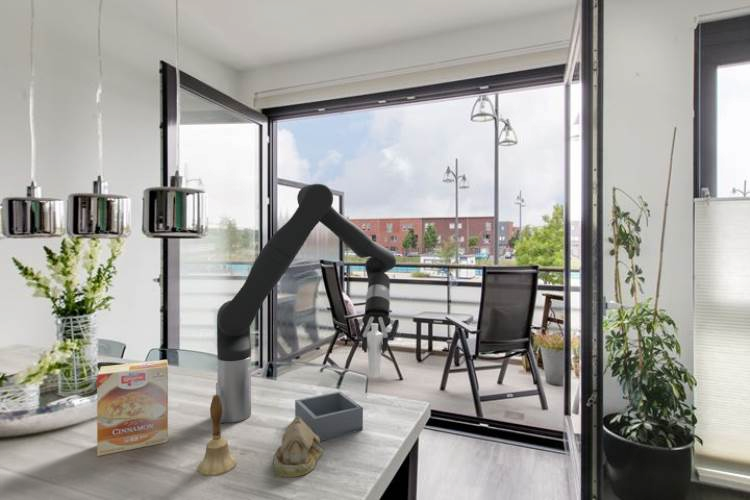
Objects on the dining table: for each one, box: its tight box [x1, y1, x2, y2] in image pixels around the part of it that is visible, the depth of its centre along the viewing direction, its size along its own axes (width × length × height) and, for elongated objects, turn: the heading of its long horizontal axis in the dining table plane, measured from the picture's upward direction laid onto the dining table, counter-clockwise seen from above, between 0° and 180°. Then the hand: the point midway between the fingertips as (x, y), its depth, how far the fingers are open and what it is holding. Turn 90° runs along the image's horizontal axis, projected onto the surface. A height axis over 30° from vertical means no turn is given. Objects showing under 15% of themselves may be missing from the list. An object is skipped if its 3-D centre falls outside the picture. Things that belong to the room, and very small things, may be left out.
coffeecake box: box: [96, 359, 169, 457], centre depth 102 cm, size 15×7×20 cm, turn 117°
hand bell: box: [197, 394, 238, 477], centre depth 93 cm, size 8×8×16 cm
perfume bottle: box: [367, 323, 383, 379], centre depth 118 cm, size 5×4×15 cm
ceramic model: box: [273, 416, 323, 478], centre depth 95 cm, size 14×11×10 cm
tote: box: [294, 390, 364, 442], centre depth 113 cm, size 14×14×6 cm
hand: (374, 351), depth 116 cm, fingers closed on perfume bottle, 4 cm apart
